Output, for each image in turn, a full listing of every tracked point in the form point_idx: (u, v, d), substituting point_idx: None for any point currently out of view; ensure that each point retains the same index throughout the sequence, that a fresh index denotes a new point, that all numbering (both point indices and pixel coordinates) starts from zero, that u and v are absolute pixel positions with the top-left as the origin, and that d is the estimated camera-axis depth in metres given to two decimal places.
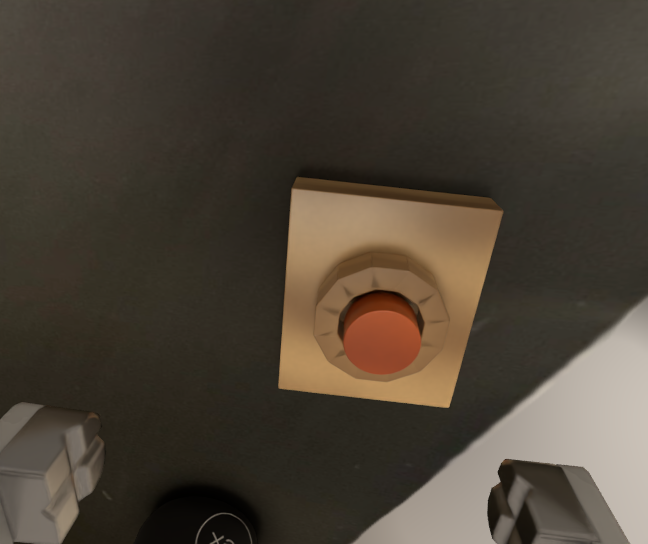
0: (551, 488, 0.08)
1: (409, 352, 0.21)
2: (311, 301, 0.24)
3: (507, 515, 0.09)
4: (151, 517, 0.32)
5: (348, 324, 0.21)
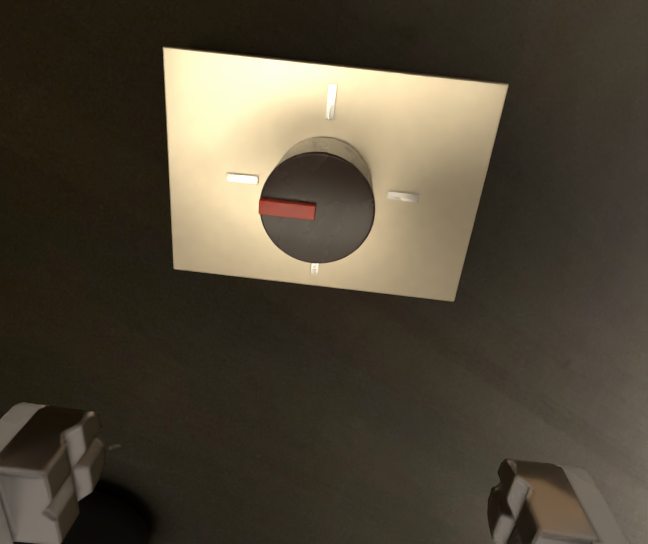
0: (551, 488, 0.08)
1: None
2: None
3: (507, 515, 0.09)
4: (124, 519, 0.32)
5: None
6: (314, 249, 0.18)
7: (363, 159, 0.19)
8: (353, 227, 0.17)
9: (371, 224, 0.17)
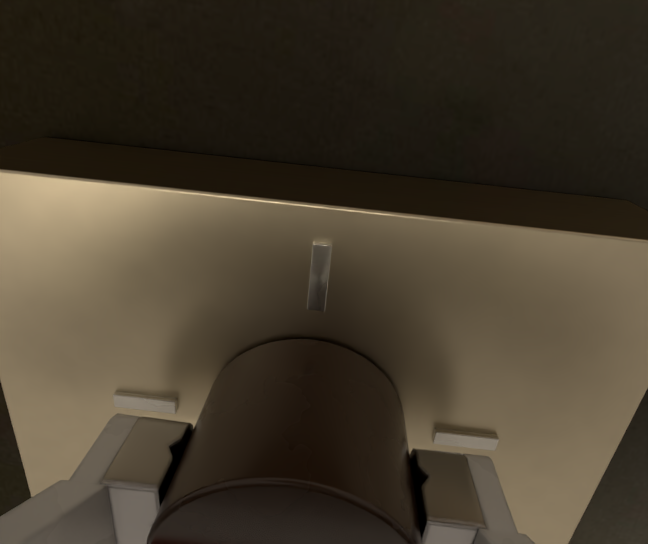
0: (451, 477, 0.08)
1: None
2: None
3: None
4: None
5: None
6: None
7: (387, 383, 0.09)
8: None
9: None
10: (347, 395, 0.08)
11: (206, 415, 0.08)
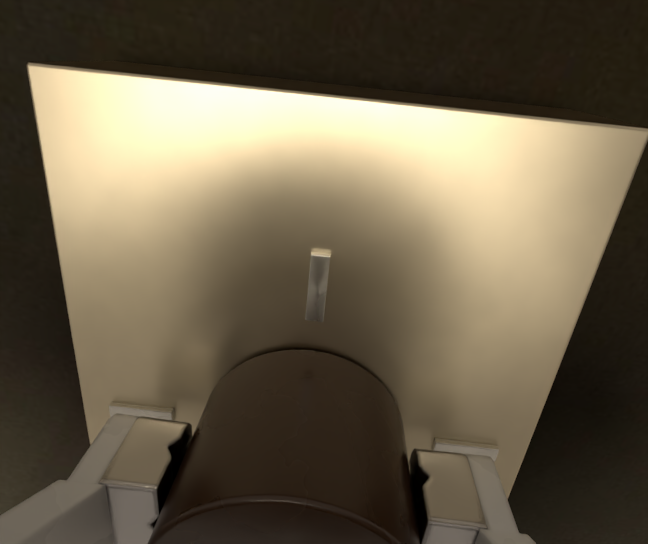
0: (453, 476, 0.08)
1: None
2: None
3: (414, 504, 0.09)
4: None
5: None
6: None
7: (386, 394, 0.09)
8: None
9: None
10: (345, 407, 0.08)
11: (202, 429, 0.08)
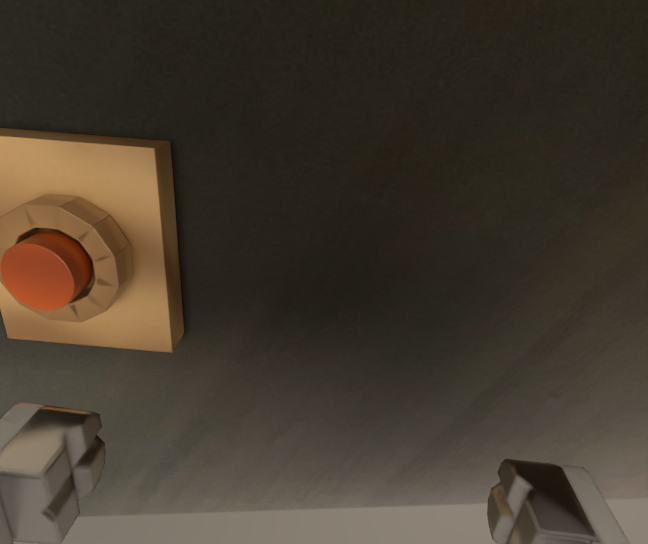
0: (551, 488, 0.08)
1: (8, 270, 0.22)
2: (137, 260, 0.25)
3: (507, 515, 0.09)
4: None
5: (75, 292, 0.22)
6: None
7: None
8: None
9: None
10: None
11: None
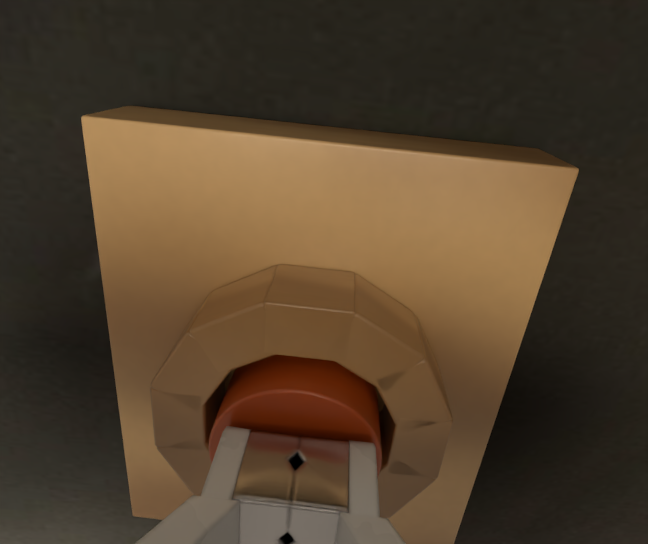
0: (331, 463, 0.08)
1: None
2: None
3: None
4: None
5: None
6: None
7: None
8: None
9: None
10: None
11: None
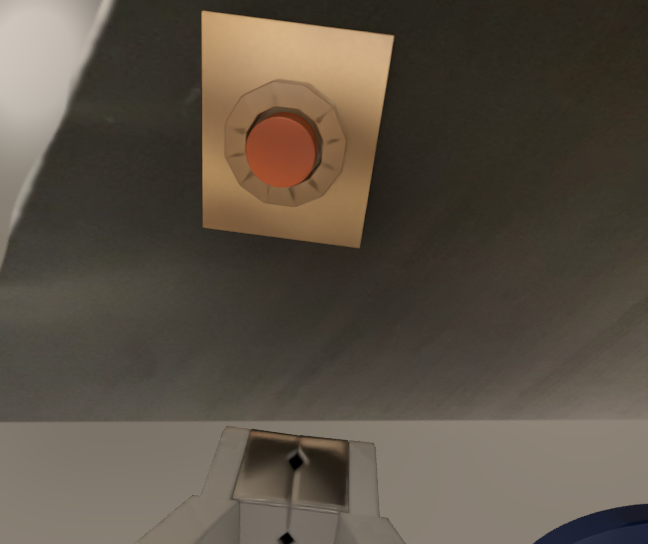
0: (331, 462, 0.08)
1: (254, 144, 0.23)
2: (349, 151, 0.26)
3: None
4: None
5: (311, 170, 0.24)
6: None
7: None
8: None
9: None
10: None
11: None
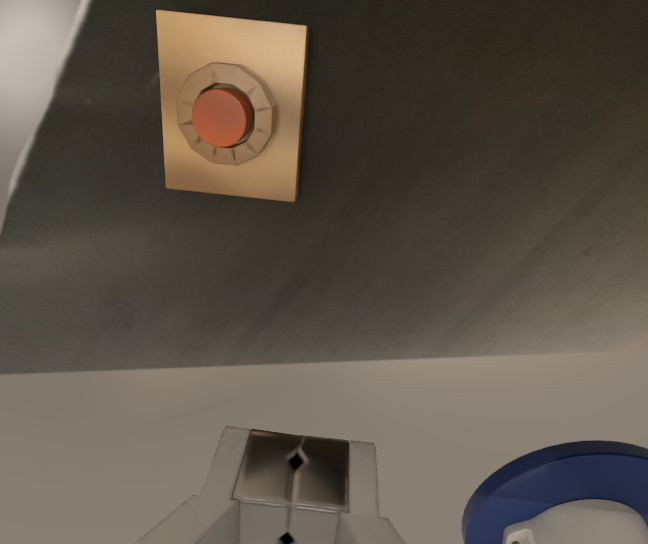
0: (331, 462, 0.08)
1: (198, 112, 0.29)
2: (279, 120, 0.32)
3: None
4: None
5: (244, 132, 0.30)
6: None
7: None
8: None
9: None
10: None
11: None
